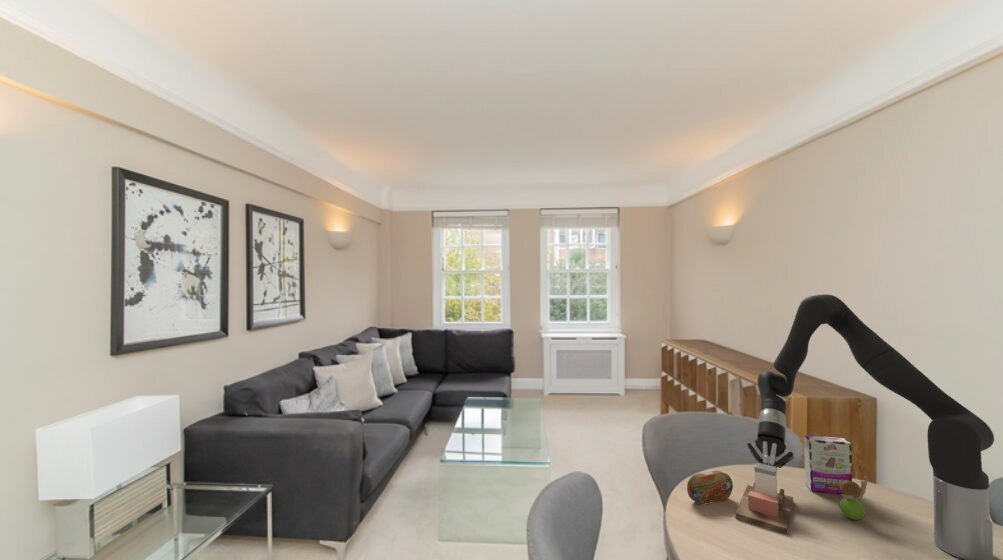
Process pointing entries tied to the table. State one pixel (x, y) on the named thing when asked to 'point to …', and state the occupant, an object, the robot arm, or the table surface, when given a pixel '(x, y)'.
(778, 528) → the wooden holder base
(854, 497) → the snail figurine
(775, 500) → the pad
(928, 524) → the table surface
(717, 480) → the tin
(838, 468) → the candy bar box
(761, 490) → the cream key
